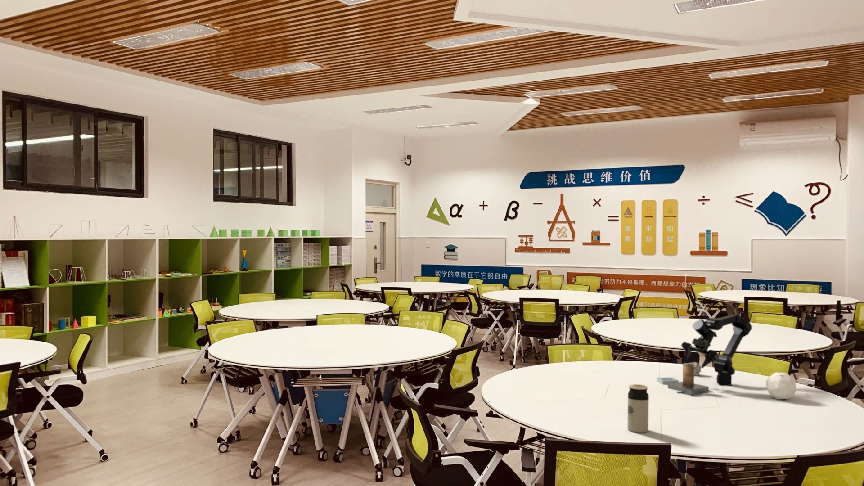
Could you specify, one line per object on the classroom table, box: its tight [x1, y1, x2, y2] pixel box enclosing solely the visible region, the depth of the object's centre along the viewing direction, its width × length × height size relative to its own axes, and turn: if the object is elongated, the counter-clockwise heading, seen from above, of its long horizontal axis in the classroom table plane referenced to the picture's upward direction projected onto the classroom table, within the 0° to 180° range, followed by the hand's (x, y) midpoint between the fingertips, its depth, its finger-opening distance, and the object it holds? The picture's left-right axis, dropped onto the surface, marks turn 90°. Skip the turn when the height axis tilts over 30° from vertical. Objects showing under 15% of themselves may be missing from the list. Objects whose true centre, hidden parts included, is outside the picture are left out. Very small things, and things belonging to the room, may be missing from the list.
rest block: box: [656, 377, 680, 385], centre depth 339 cm, size 9×7×3 cm
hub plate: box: [667, 381, 710, 397], centre depth 324 cm, size 14×14×3 cm
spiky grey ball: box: [688, 361, 702, 376], centre depth 364 cm, size 9×8×10 cm
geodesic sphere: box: [765, 371, 797, 400], centre depth 310 cm, size 14×14×14 cm
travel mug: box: [627, 383, 650, 434], centre depth 255 cm, size 8×8×18 cm
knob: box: [682, 362, 695, 387], centre depth 324 cm, size 5×5×13 cm
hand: (693, 364), depth 329 cm, fingers open, 9 cm apart
